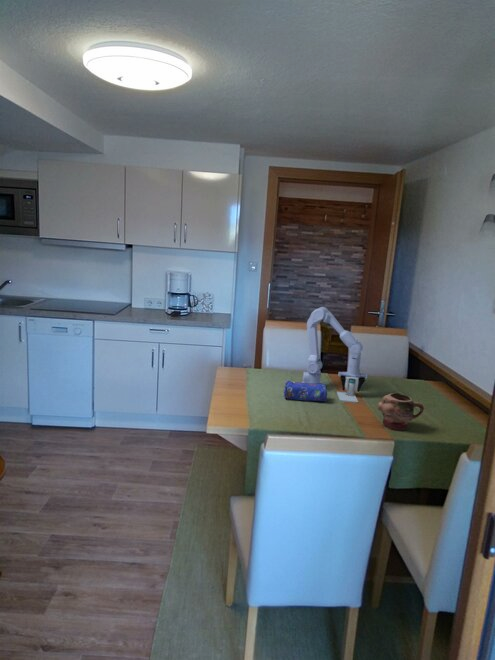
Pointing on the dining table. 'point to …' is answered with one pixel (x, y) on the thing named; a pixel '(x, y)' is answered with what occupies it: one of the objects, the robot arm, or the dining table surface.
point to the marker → (351, 387)
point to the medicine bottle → (355, 382)
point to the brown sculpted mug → (398, 410)
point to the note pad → (346, 397)
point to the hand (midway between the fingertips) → (350, 390)
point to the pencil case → (305, 391)
